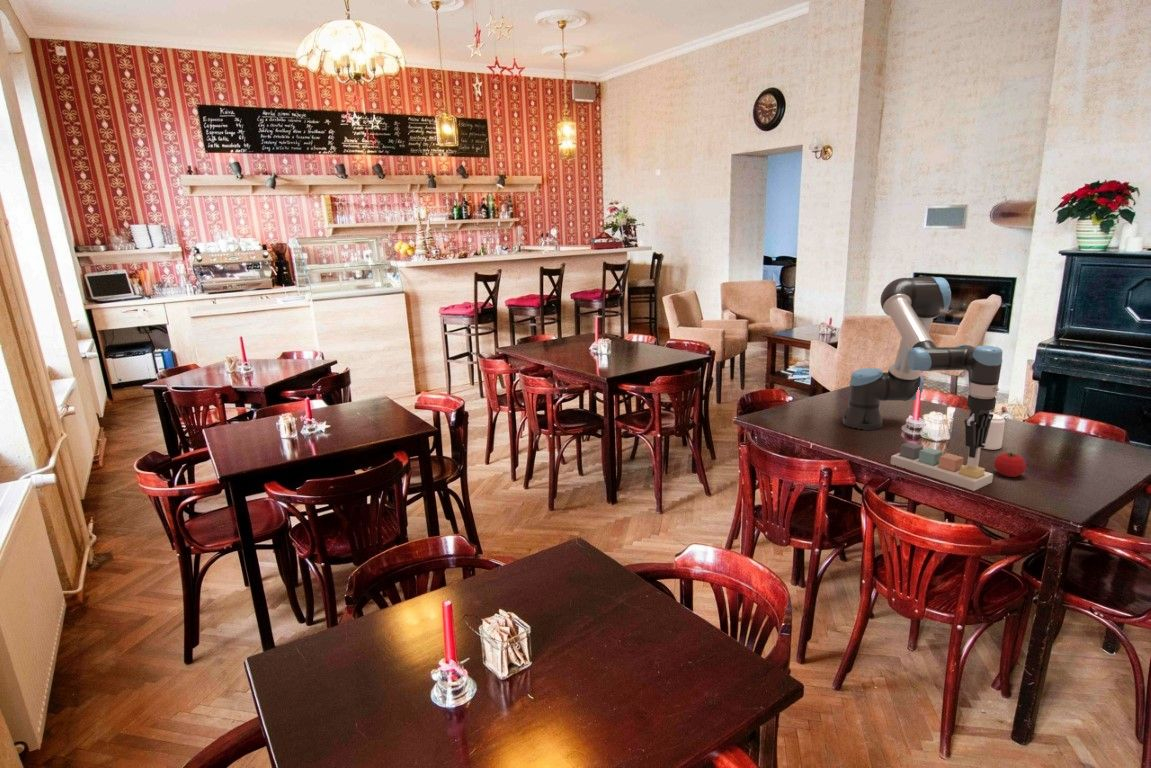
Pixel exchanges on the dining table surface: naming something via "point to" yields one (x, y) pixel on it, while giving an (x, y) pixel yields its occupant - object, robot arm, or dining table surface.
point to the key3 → (951, 462)
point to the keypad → (942, 473)
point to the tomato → (1010, 464)
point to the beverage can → (995, 433)
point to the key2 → (930, 456)
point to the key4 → (972, 471)
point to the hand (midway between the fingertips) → (972, 465)
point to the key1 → (910, 450)
